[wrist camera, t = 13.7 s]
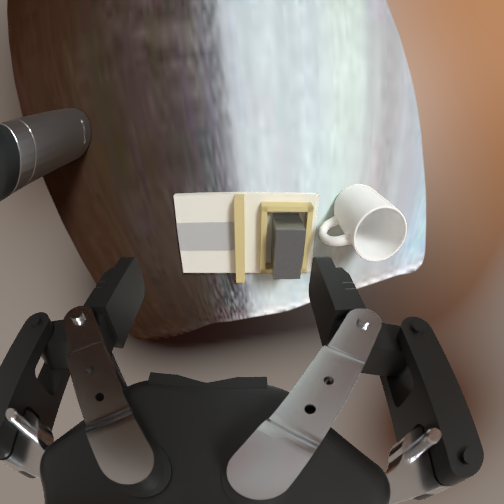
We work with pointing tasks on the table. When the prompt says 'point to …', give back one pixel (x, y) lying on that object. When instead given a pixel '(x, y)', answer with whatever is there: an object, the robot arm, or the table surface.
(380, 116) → the table surface
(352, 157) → the table surface
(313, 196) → the white fixture board
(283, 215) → the block
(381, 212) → the mug
